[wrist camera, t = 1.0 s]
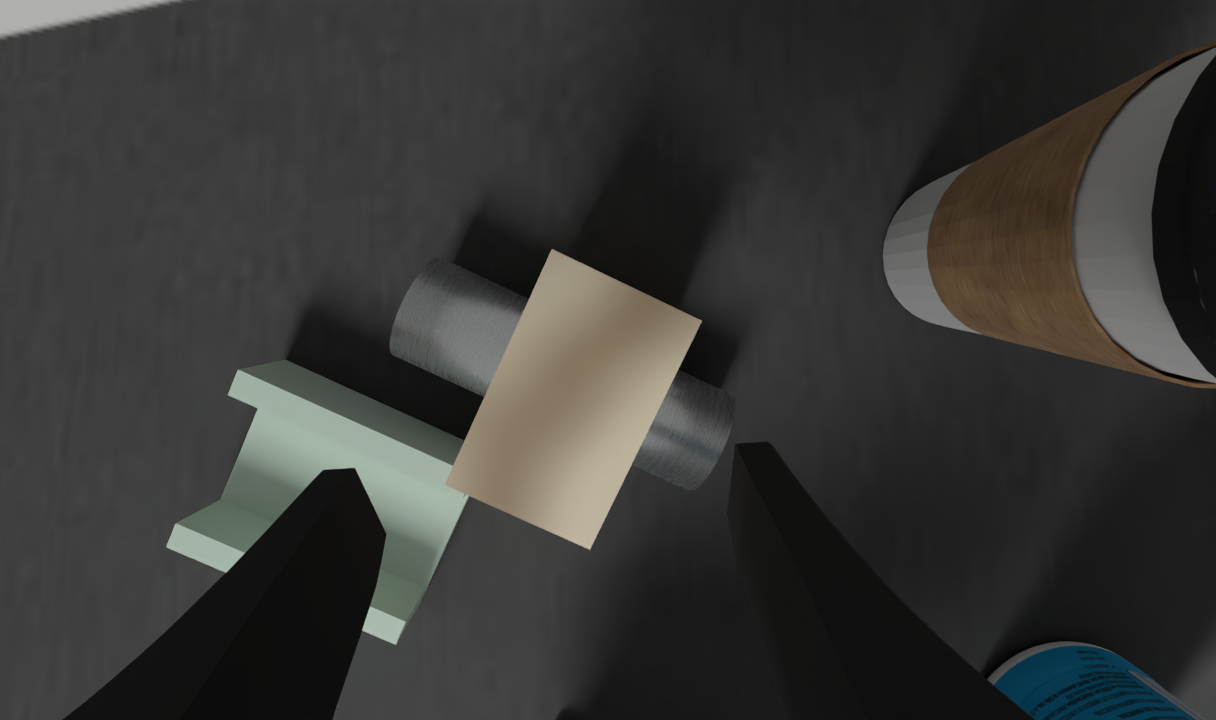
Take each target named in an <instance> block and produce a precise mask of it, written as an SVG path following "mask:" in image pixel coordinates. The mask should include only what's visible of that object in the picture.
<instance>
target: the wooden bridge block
mask: <svg viewBox="0 0 1216 720" xmlns="http://www.w3.org/2000/svg"><path fill="white" fill-rule="evenodd" d="M701 322H702V321H701V320H699V319H697V318H695V317H693V316H691V315H689V314H687V313H685V312H682V311H680V310H678V309H676V308H674V307H672V306H670V305H668V304H666V303H664V302H662V301H660V300H657V299H655V298H653V297H651V296H649V295H647V294H645V293H643V292H641V291H639V290H637V289H634V288H632V287H630V286H628V285H626V284H624V283H622V282H620V281H618V280H616V279H614V278H611V277H609V276H607V275H605V274H603V273H601V272H599V271H597V270H595V269H593V268H591V267H589V266H586V265H584V264H582V263H580V262H578V261H576V260H574V259H572V258H570V257H568V256H566V255H563V254H561V253H559V252H557V251H555V250H553V249H552V250H551V252H550V254H549V256H548V259H547V261H546V263H545V265H544V267H543V269H542V272H541V274H540V276H539V278H538V280H537V283H536V285H535V287H534V289H533V291H532V294H531V296H530V298H529V300H528V302H527V305H526V307H525V309H524V311H523V313H522V316H521V318H520V320H519V322H518V324H517V327H516V329H515V331H514V333H513V335H512V338H511V340H510V342H509V344H508V346H507V349H506V351H505V353H504V355H503V357H502V360H501V362H500V364H499V366H498V368H497V371H496V373H495V375H494V377H493V379H492V381H491V384H490V386H489V388H488V390H487V392H486V395H485V397H484V399H483V401H482V403H481V406H480V408H479V410H478V412H477V414H476V417H475V419H474V421H473V423H472V425H471V428H470V430H469V432H468V434H467V436H466V439H465V441H464V443H463V445H462V447H461V450H460V452H459V454H458V456H457V458H456V461H455V463H454V465H453V467H452V469H451V472H450V474H449V476H448V478H447V480H446V483H445V485H446V486H448V487H450V488H453V489H455V490H457V491H459V492H462V493H464V494H466V495H468V496H471V497H473V498H475V499H477V500H480V501H482V502H484V503H486V504H489V505H491V506H493V507H495V508H498V509H500V510H502V511H504V512H507V513H509V514H511V515H513V516H515V517H518V518H520V519H522V520H524V521H527V522H529V523H531V524H533V525H536V526H538V527H540V528H542V529H545V530H547V531H549V532H551V533H554V534H556V535H558V536H560V537H563V538H565V539H567V540H569V541H572V542H574V543H576V544H578V545H581V546H583V547H585V548H587V549H590V548H591V546H592V544H593V542H594V540H595V538H596V536H597V534H598V532H599V530H600V528H601V526H602V524H603V522H604V520H605V518H606V516H607V514H608V512H609V510H610V508H611V506H612V504H613V502H614V500H615V498H616V495H617V493H618V491H619V489H620V487H621V485H622V483H623V481H624V479H625V477H626V475H627V473H628V471H629V469H630V467H631V465H632V463H633V461H634V459H635V457H636V455H637V453H638V451H639V449H640V447H641V445H642V442H643V440H644V438H645V436H646V434H647V432H648V430H649V428H650V426H651V424H652V422H653V420H654V418H655V416H656V414H657V412H658V410H659V408H660V406H661V404H662V402H663V400H664V398H665V396H666V394H667V392H668V390H669V387H670V385H671V383H672V381H673V379H674V377H675V375H676V373H677V371H678V369H679V367H680V365H681V363H682V361H683V359H684V357H685V355H686V353H687V351H688V349H689V347H690V345H691V343H692V341H693V339H694V337H695V334H696V332H697V330H698V328H699V326H700V324H701Z"/></svg>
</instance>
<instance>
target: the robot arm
mask: <svg viewBox="0 0 1216 720" xmlns="http://www.w3.org/2000/svg"><path fill="white" fill-rule="evenodd" d="M727 514H728V519H729V525H730V531H731V536H732V542H733V547H734V552H735V557H736V562H737V566H738V570H739V573H740V577H741V580H742V583H743V587H744V590H745V593H746V597H747V600H748V603H749V607H750V610H751V613H752V617H753V620H754V623H755V626H756V630H757V633H758V636H759V640H760V643H761V646H762V649H763V653H764V656H765V659H766V663H767V666H768V669H769V673H770V676H771V679H772V682H773V686H774V690H775V694H776V698H777V701H778V705H779V709H780V713H781V718H782V720H1035V719H1034V718H1033V717H1031V716H1030V715H1029V714H1028V713H1027V712H1025V711H1024V710H1023V709H1022V708H1021V707H1019V706H1018V705H1017V704H1016V703H1015V702H1013V701H1012V700H1011V699H1010V698H1009V697H1007V696H1006V695H1005V694H1004V693H1003V692H1001V691H1000V690H999V689H998V688H997V687H995V686H994V685H993V684H992V683H991V682H989V681H988V680H987V679H986V678H985V677H983V676H982V675H981V674H980V673H979V672H978V671H976V670H975V669H974V668H973V667H972V666H971V665H970V664H969V663H968V662H966V661H965V660H964V659H963V658H962V657H961V656H960V655H959V654H958V653H957V652H955V651H954V650H953V649H952V648H951V647H950V646H949V645H948V644H947V643H946V642H944V641H943V640H942V639H941V638H940V637H939V636H938V635H937V634H936V633H935V632H934V631H933V630H932V629H931V628H930V627H929V626H928V625H926V624H925V623H924V622H923V621H922V620H921V619H920V618H919V617H918V616H917V615H916V614H915V613H914V612H913V611H912V610H911V609H910V608H909V607H908V606H907V605H906V604H905V603H904V602H903V601H902V600H901V599H900V598H899V597H898V596H897V595H896V594H895V593H894V592H893V591H892V590H891V589H890V588H889V587H888V586H887V585H886V583H885V582H884V581H883V580H882V579H881V578H880V577H879V576H878V575H877V574H876V573H875V572H874V571H873V569H872V568H871V567H870V566H869V565H868V564H867V563H866V562H865V561H864V560H863V559H862V557H861V556H860V555H859V554H858V553H857V552H856V551H855V550H854V548H853V547H852V546H851V545H850V544H849V543H848V542H847V540H846V539H845V538H844V537H843V536H842V535H841V533H840V532H839V531H838V530H837V529H836V527H835V526H834V525H833V524H832V523H831V521H830V520H829V519H828V518H827V517H826V516H825V514H824V513H823V512H822V511H821V509H820V508H819V507H818V506H817V504H816V503H815V502H814V501H813V499H812V498H811V497H810V496H809V494H808V493H807V492H806V490H805V489H804V488H803V487H802V485H801V484H800V483H799V481H798V480H797V479H796V477H795V476H794V475H793V473H792V472H791V471H790V469H789V468H788V467H787V465H786V464H785V462H784V461H783V460H782V458H781V457H780V456H779V454H778V453H777V451H776V450H775V448H774V447H773V446H772V445H771V444H770V443H769V442H756V443H740V444H735V452H734V460H733V469H732V477H731V486H730V494H729V503H728V511H727ZM386 535H387V534H386V532H385V530H384V528H383V526H382V523H381V521H380V519H379V517H378V515H377V513H376V511H375V509H374V507H373V505H372V502H371V500H370V498H369V496H368V494H367V492H366V490H365V488H364V486H363V484H362V482H361V479H360V477H359V475H358V473H357V471H356V469H355V468H344V469H328V470H322V471H321V472H320V474H319V475H318V476H317V477H316V478H315V479H314V480H313V481H312V482H311V483H310V484H309V485H308V486H307V487H306V488H305V489H304V490H303V491H302V493H301V494H300V495H299V496H298V497H297V498H296V499H295V500H294V501H293V502H292V503H291V504H290V506H289V507H288V508H287V509H286V510H285V511H284V512H283V513H282V514H281V515H280V516H279V517H278V519H277V520H276V521H275V522H274V523H273V524H272V525H271V526H270V527H269V528H268V529H267V530H266V531H265V532H264V534H263V535H262V536H261V537H260V538H259V539H258V540H257V541H256V542H255V543H254V544H253V545H252V546H251V547H250V548H249V549H248V550H247V551H246V553H245V554H244V555H243V556H242V557H241V558H240V559H239V560H238V561H237V562H236V563H235V564H234V565H233V566H232V567H231V568H230V569H229V570H228V571H227V572H226V573H225V574H224V575H223V576H222V577H221V578H220V579H219V580H218V581H217V582H216V583H215V584H214V585H213V586H212V587H211V588H210V589H209V590H208V591H207V592H206V593H205V594H204V595H203V596H202V597H201V598H200V599H199V600H198V601H197V602H196V603H195V604H194V605H193V606H192V607H191V608H190V609H189V610H188V611H187V612H186V613H185V614H184V615H183V616H182V617H181V618H180V619H178V620H177V621H176V622H175V623H174V624H173V625H172V626H171V627H170V628H169V629H168V630H167V631H166V632H165V633H164V634H163V635H162V636H161V637H159V638H158V639H157V640H156V641H155V642H154V643H153V644H152V645H151V646H150V647H148V648H147V649H146V650H145V651H144V652H143V653H142V654H141V655H140V656H138V657H137V658H136V659H135V660H134V661H133V662H131V663H130V664H129V665H128V666H127V667H126V668H125V669H123V670H122V671H121V672H120V673H119V674H118V675H116V676H115V677H114V678H113V679H112V680H111V681H110V682H108V683H107V684H106V685H105V686H104V687H103V688H101V689H100V690H99V691H98V692H97V693H95V694H94V695H93V696H92V697H91V698H89V699H88V700H87V701H86V702H85V703H83V704H82V705H81V706H79V707H78V708H77V709H76V710H74V711H73V712H72V713H71V714H69V715H68V716H67V717H66V718H64V719H63V720H332V719H333V716H334V712H335V709H336V706H337V703H338V700H339V697H340V694H341V691H342V688H343V685H344V682H345V679H346V676H347V673H348V670H349V667H350V664H351V661H352V658H353V655H354V653H355V650H356V647H357V644H358V641H359V638H360V635H361V632H362V629H363V626H364V623H365V620H366V617H367V614H368V611H369V608H370V605H371V601H372V598H373V595H374V592H375V589H376V585H377V581H378V576H379V571H380V567H381V562H382V557H383V551H384V546H385V540H386Z"/></svg>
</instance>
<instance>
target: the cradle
mask: <svg viewBox="0 0 1216 720" xmlns="http://www.w3.org/2000/svg"><path fill="white" fill-rule="evenodd" d="M228 395H229V396H231V397H233V398H236V399H238V400H240V401H242V402H245V403H247V404H249V405H251V406H254V407H256V408H258V410H257V412H256V415H255V417H254V419H253V422H252V424H251V427H250V429H249V432H248V434H247V436H246V439H245V441H244V444H243V446H242V449H241V451H240V453H239V456H238V458H237V461H236V463H235V466H234V468H233V470H232V473H231V475H230V478H229V480H228V483H227V485H226V487H225V490H224V492H223V495H222V497H221V499H220V500H218V501H217V502H215V503H213V504H211V505H209V506H207V507H205V508H203V509H202V510H200V511H198V512H196V513H194V514H192V515H190V516H189V517H187V518H185V519H183V520H181V521H179V522H177V523H176V524H175V527H174V529H173V532H172V534H171V536H170V539H169V541H168V544H167V546H166V547H167V548H169V549H171V550H174V551H176V552H179V553H181V554H183V555H186V556H188V557H190V558H193V559H195V560H197V561H200V562H202V563H204V564H207V565H209V566H211V567H214V568H216V569H219V570H221V571H223V572H227V571H228V570H229V569H230V568H231V567H232V566H233V565H234V564H235V563H236V562H237V561H238V560H239V559H240V558H241V557H242V556H243V555H244V554H245V553H246V551H247V550H248V549H249V548H250V547H251V546H252V545H253V544H254V543H255V542H256V541H257V540H258V539H259V538H260V537H261V536H262V535H263V534H264V532H265V531H266V530H267V529H268V528H269V527H270V526H271V525H272V524H273V523H274V522H275V521H276V520H277V519H278V517H279V516H280V515H281V514H282V513H283V512H284V511H285V510H286V509H287V508H288V507H289V506H290V504H291V503H292V502H293V501H294V500H295V499H296V498H297V497H298V496H299V495H300V494H301V493H302V491H303V490H304V489H305V488H306V487H307V486H308V485H309V484H310V483H311V482H312V481H313V480H314V479H315V478H316V477H317V476H318V475H319V474H320V472H321V471H322V470H328V469H344V468H355V469H356V471H357V473H358V475H359V477H360V479H361V482H362V484H363V486H364V488H365V490H366V492H367V494H368V496H369V498H370V500H371V502H372V505H373V507H374V509H375V511H376V513H377V515H378V517H379V519H380V521H381V523H382V526H383V528H384V530H385V532H386V534H387V535H386V540H385V546H384V551H383V557H382V562H381V567H380V571H379V576H378V581H377V585H376V589H375V592H374V595H373V598H372V601H371V605H370V608H369V611H368V614H367V617H366V620H365V623H364V626H363V629H362V631H365V632H367V633H369V634H372V635H374V636H376V637H379V638H381V639H383V640H386V641H388V642H390V643H393V644H395V645H396V643H397V641H398V640H399V638H400V636H401V635H402V633H403V631H404V630H405V628H406V626H407V624H408V623H409V621H410V619H411V618H412V616H413V614H414V613H415V611H416V609H417V607H418V606H419V604H420V602H421V601H422V598H423V596H424V594H425V592H426V590H427V588H428V585H429V583H430V581H431V579H432V577H433V575H434V572H435V570H436V568H437V566H438V564H439V561H440V559H441V557H442V555H443V553H444V551H445V548H446V546H447V544H448V542H449V540H450V538H451V535H452V533H453V531H454V529H455V527H456V525H457V522H458V520H459V518H460V516H461V514H462V512H463V509H464V507H465V505H466V503H467V501H468V499H469V496H468V495H466V494H464V493H462V492H459V491H457V490H455V489H453V488H450V487H448V486H446V485H445V483H446V480H447V478H448V476H449V474H450V472H451V469H452V467H453V465H454V463H455V461H456V458H457V456H458V454H459V452H460V450H461V447H462V445H463V443H464V440H462V439H460V438H458V437H456V436H453V435H451V434H449V433H447V432H445V431H442V430H440V429H438V428H436V427H433V426H431V425H429V424H427V423H425V422H422V421H420V420H418V419H416V418H414V417H411V416H409V415H407V414H405V413H402V412H400V411H398V410H396V409H394V408H391V407H389V406H387V405H385V404H383V403H380V402H378V401H376V400H374V399H371V398H369V397H367V396H365V395H363V394H360V393H358V392H356V391H354V390H352V389H349V388H347V387H345V386H343V385H340V384H338V383H336V382H334V381H332V380H329V379H327V378H325V377H323V376H321V375H318V374H316V373H314V372H312V371H310V370H307V369H305V368H303V367H301V366H298V365H296V364H294V363H292V362H290V361H287V360H282V361H278V362H273V363H268V364H263V365H258V366H253V367H248V368H243V369H238V371H237V373H236V376H235V378H234V381H233V383H232V386H231V388H230V391H229V393H228Z"/></svg>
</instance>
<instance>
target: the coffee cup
mask: <svg viewBox="0 0 1216 720" xmlns="http://www.w3.org/2000/svg"><path fill="white" fill-rule="evenodd" d="M883 264H884V272H885V275H886V278H887V282H888V285H889V287H890V289H891V290H892V292H893V294H894V296H895V297H896V299H897V300H898V301H899V302H900V303H901V305H902V306H903V307H904V308H905V309H907V310H908V311H909V312H911V313H912V314H913V315H914V316H916V317H918V318H920V319H922V320H924V321H926V322H929V323H933V324H937V325H941V326H945V327H949V328H954V329H958V330H963V331H968V332H973V333H978V334H982V335H985V336H989V337H993V338H996V339H1000V340H1004V341H1008V342H1012V343H1016V344H1020V345H1024V346H1028V347H1032V348H1037V349H1041V350H1045V351H1049V352H1053V353H1057V354H1061V355H1065V356H1069V357H1073V358H1077V359H1081V360H1085V361H1089V362H1093V363H1097V364H1101V365H1105V366H1109V367H1113V368H1117V369H1121V370H1125V371H1129V372H1133V373H1137V374H1141V375H1145V376H1149V377H1153V378H1157V379H1161V380H1165V381H1169V382H1173V383H1177V384H1181V385H1185V386H1189V387H1193V388H1216V41H1214V42H1211V43H1208V44H1206V45H1203V46H1200V47H1197V48H1195V49H1192V50H1189V51H1186V52H1184V53H1182V54H1180V55H1178V56H1176V57H1174V58H1172V59H1170V60H1168V61H1166V62H1164V63H1162V64H1160V65H1158V66H1157V67H1155V68H1153V69H1151V70H1149V71H1147V72H1145V73H1143V74H1141V75H1139V76H1137V77H1135V78H1133V79H1131V80H1130V81H1128V82H1126V83H1124V84H1122V85H1120V86H1118V87H1116V88H1114V89H1112V90H1110V91H1108V92H1106V93H1105V94H1103V95H1101V96H1099V97H1097V98H1095V99H1093V100H1091V101H1089V102H1087V103H1085V104H1083V105H1081V106H1079V107H1078V108H1076V109H1074V110H1072V111H1070V112H1068V113H1066V114H1064V115H1062V116H1060V117H1058V118H1056V119H1054V120H1052V121H1051V122H1049V123H1047V124H1045V125H1043V126H1041V127H1039V128H1037V129H1035V130H1033V131H1031V132H1029V133H1027V134H1025V135H1024V136H1022V137H1020V138H1018V139H1016V140H1014V141H1012V142H1010V143H1008V144H1006V145H1004V146H1002V147H1000V148H999V149H997V150H995V151H993V152H991V153H989V154H987V155H985V156H984V157H982V158H980V159H979V160H977V161H975V162H973V163H971V164H969V165H967V166H965V167H963V168H960V169H958V170H956V171H954V172H952V173H950V174H948V175H946V176H943V177H941V178H939V179H937V180H935V181H933V182H931V183H930V184H928V185H926V186H925V187H923V188H921V189H920V190H918V191H916V192H915V193H914V194H913V195H912V196H911V197H909V198H908V199H907V200H906V201H905V202H904V203H903V205H902V206H901V207H900V209H899V210H898V211H897V212H896V214H895V216H894V218H893V220H892V221H891V223H890V225H889V227H888V231H887V234H886V237H885V241H884V249H883Z"/></svg>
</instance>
